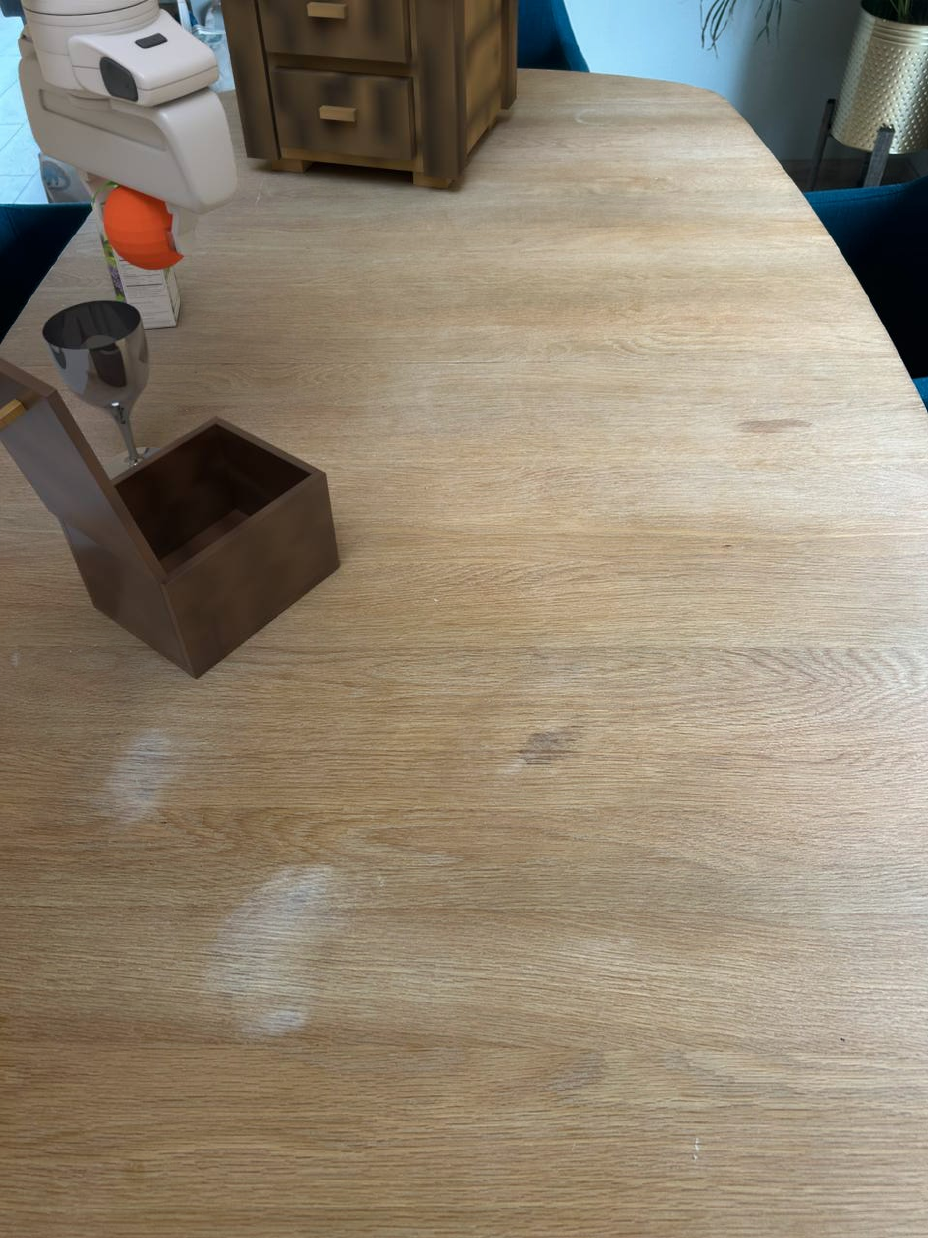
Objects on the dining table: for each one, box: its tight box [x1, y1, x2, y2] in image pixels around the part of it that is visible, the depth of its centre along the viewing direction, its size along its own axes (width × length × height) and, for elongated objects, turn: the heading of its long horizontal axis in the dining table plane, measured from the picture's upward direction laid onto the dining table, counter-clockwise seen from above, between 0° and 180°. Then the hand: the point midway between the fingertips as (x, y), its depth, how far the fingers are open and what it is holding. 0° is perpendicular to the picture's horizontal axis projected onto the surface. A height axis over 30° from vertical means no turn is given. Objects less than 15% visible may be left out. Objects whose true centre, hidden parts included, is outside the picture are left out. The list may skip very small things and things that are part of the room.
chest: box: [56, 415, 341, 680], centre depth 78 cm, size 16×13×10 cm
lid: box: [0, 356, 167, 584], centre depth 63 cm, size 17×13×5 cm
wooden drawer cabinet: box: [219, 0, 519, 189], centre depth 134 cm, size 35×35×33 cm
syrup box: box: [90, 185, 182, 330], centre depth 107 cm, size 6×6×14 cm
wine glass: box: [41, 299, 161, 480], centre depth 87 cm, size 8×8×15 cm
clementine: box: [91, 181, 186, 270], centre depth 79 cm, size 8×7×7 cm
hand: (149, 236), depth 80 cm, fingers closed on clementine, 7 cm apart
